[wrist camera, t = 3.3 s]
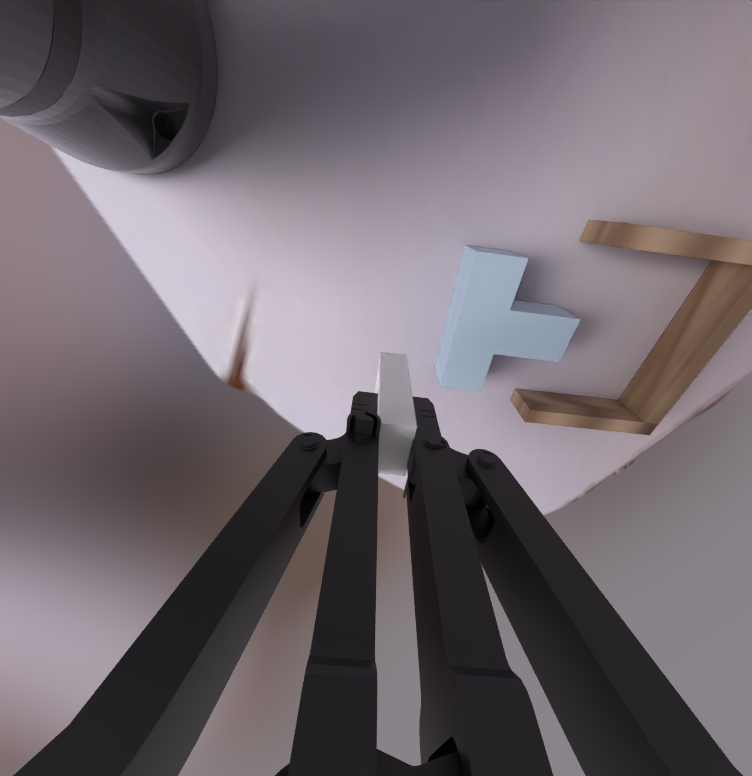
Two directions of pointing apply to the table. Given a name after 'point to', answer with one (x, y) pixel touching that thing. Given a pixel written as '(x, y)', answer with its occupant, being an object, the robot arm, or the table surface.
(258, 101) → the table surface
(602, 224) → the walnut corral
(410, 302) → the table surface
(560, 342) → the tee block
